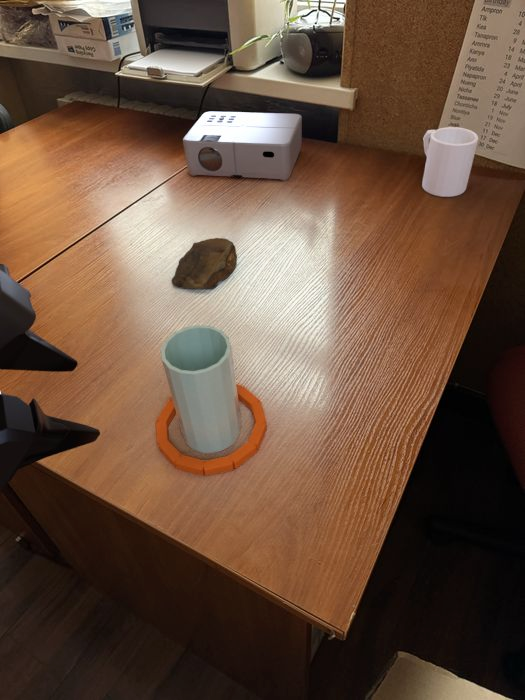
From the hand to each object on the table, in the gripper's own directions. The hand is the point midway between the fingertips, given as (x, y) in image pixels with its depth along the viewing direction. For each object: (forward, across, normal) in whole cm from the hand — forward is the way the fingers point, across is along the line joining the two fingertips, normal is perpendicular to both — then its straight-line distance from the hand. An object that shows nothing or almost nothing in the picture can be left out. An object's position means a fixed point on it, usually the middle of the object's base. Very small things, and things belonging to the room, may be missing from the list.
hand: (85, 398), depth 45 cm
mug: (+61, +35, -42) cm, 82 cm away
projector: (+41, +64, -22) cm, 79 cm away
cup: (+17, +1, +2) cm, 17 cm away
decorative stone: (+25, +31, -6) cm, 40 cm away
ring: (+17, +2, +2) cm, 17 cm away
